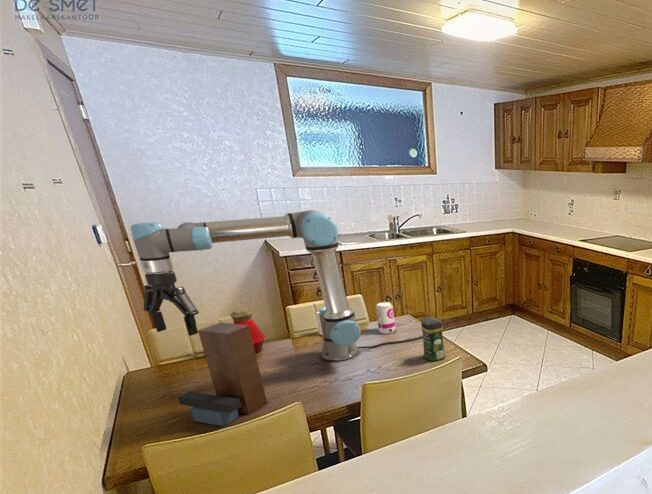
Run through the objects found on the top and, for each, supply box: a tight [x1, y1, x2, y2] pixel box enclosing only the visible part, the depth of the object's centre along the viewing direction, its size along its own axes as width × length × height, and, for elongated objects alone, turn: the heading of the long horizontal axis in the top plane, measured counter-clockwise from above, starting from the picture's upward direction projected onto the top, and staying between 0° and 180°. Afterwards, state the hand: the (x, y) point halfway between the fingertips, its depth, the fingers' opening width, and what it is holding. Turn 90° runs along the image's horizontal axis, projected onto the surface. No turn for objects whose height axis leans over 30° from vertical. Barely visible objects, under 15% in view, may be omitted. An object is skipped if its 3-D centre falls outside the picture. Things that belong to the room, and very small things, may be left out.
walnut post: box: [197, 322, 268, 415], centre depth 147 cm, size 12×8×30 cm, turn 77°
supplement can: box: [375, 301, 396, 335], centre depth 220 cm, size 8×8×15 cm
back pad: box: [177, 390, 242, 413], centre depth 143 cm, size 21×4×3 cm, turn 77°
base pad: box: [190, 406, 240, 427], centre depth 144 cm, size 12×6×5 cm, turn 77°
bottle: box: [229, 307, 266, 354], centre depth 194 cm, size 16×14×20 cm
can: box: [315, 310, 323, 337], centre depth 217 cm, size 6×6×12 cm
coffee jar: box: [421, 316, 445, 362], centre depth 191 cm, size 10×8×19 cm
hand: (177, 332), depth 147 cm, fingers open, 13 cm apart
